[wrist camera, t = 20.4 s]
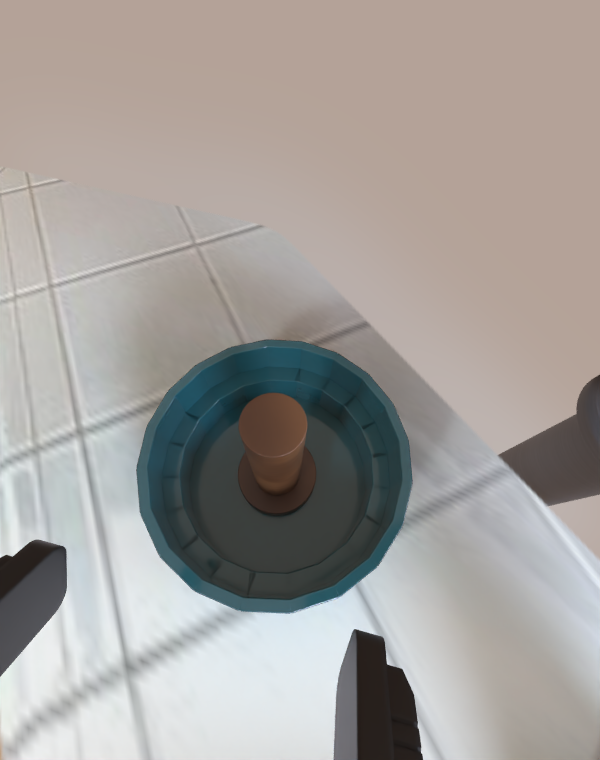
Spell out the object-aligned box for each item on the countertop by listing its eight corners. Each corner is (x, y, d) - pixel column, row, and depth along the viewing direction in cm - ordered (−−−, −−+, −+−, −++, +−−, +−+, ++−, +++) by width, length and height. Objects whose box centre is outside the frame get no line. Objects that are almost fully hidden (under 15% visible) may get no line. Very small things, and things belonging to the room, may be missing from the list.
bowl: (345, 362, 30) (358, 319, 25) (420, 559, 24) (458, 558, 19) (157, 406, 28) (127, 368, 23) (184, 636, 22) (151, 660, 16)
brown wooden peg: (303, 432, 27) (313, 360, 18) (324, 503, 25) (348, 465, 15) (233, 450, 26) (203, 385, 17) (248, 525, 24) (224, 499, 15)
